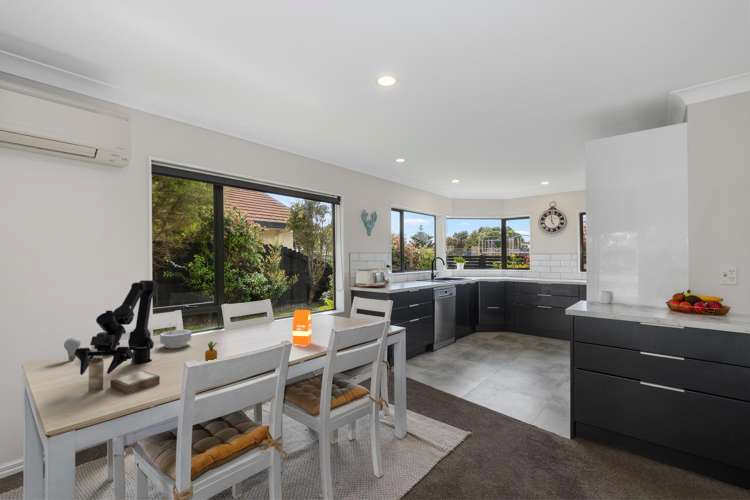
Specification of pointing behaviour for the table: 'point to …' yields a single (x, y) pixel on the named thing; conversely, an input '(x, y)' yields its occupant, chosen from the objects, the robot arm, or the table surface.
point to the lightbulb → (72, 347)
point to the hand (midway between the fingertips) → (94, 373)
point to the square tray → (134, 382)
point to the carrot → (211, 352)
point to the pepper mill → (96, 375)
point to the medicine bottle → (96, 349)
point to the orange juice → (302, 327)
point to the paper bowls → (175, 338)
